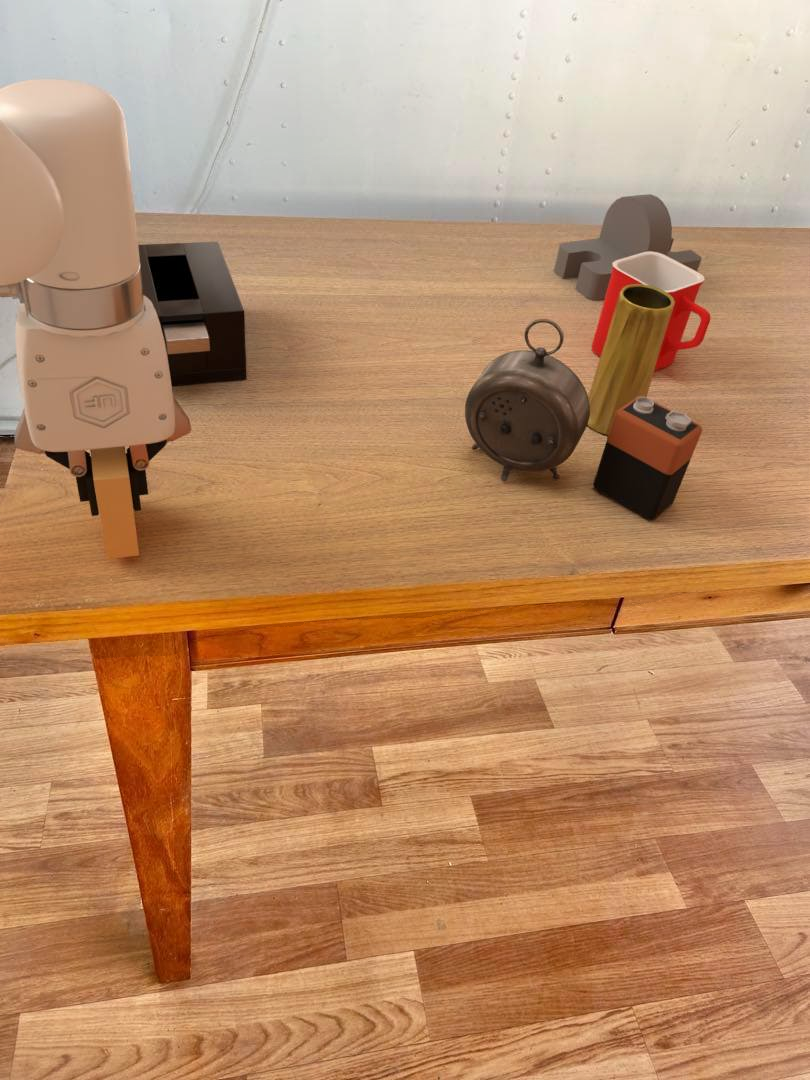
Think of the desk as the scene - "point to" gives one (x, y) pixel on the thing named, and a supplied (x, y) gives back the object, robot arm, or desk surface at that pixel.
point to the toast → (114, 502)
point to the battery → (646, 456)
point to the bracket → (620, 244)
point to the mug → (669, 279)
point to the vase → (629, 352)
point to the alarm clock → (527, 410)
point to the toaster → (197, 308)
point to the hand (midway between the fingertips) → (115, 501)
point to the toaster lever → (186, 338)
